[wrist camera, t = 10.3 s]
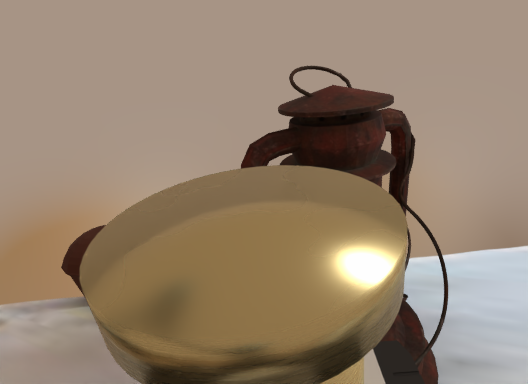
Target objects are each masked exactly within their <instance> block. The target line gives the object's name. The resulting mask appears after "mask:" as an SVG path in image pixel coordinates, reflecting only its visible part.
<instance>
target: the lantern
mask: <svg viewBox="0 0 528 384" xmlns="http://www.w3.org/2000/svg"><path fill="white" fill-rule="evenodd" d="M307 69H316V70H323V71H327V72H330V73H332V74H334V75H337V76H339V77H340V78H341V79H342V80H343V81H345V82H346V84H347V86H348V88H347V87H341V86H336V85H332V86H329V87H327V88H324V89H321V90H319V91H316V92H313V93H311V94H310V93H308V92H306V91H304V90H303V89H300V88H299V87H298V86H297V85H296V84H295V83H294V81H293V76H294V74H295V73H297V72H298V71H302V70H307ZM289 79H290V83H291V85H292V86H293V87H294V88H295V89H296V90H297V91H299V92H300V93H302V94H304V95H305V96H303V97H301V98H297V99H295V100H292V101H289V102H287V103H284V104H282V105H280V106H279V107H278V111H279V113H280V114H282V115H285V116H291V117H293V118H292V119H290V122H289V128H288V129H284V130H280V131H276V132H272V133H268V134H266V135H265V136H263V137H261V138H260V139H258V140H257V141H255V142H253V143H252V144H250V145H249V148H248V150H247V152H246V155H245V157H244V159H243V161H242V164H241V169H243V168H251V167H260V166H267V165H268V163H269V161H271V160H272V159H274V158H277V157H279V156H282V155H285V154H289V153H292V155H290V156H288V157H287V158H285V159H284V160H283V161H282V162H281V163H280V165H294V166H312V167H320V168H327V169H333V170H338V171H342V172H346V173H350V174H353V175H356V176H358V177H361V178H364V179H366V180H368V181H370V182H373V183H374V184H376V185H378V186H379V187H381V186H382V176H383V175H385V174H388V173H389V172H390V183H389V194H390V195H392V196H393V197H394V199H395V200H396V201H397V202H398V203H399V204H400V206H401V208H402V210H403V212H404V214H405V216H406V209H407V210H408V211H409V212H410V213H411V214H412V215H413V216H414V217H415V218H416V219H417V220H418V222H419V223H420V224H421V225H422V226H423V228H424V229H425V231H426V232H427V233H428V235H429V237H430V238H431V240H432V242H433V244H434V246H435V248H436V251H437V253H438V256H439V259H440V263H441V267H442V271H443V278H444V304H443V310H442V315H441V319H440V322H439V325H438V327H437V330H436V332H435V334H434V336H433V338H432V340H431V341H430V343H429V344H428V341H427V340H426V338H425V337H424V331H423V327H422V325H421V323H420V321H419V318H418V316H417V314H416V313H415V312H414V311H413V309H412V308H411V307H410V305H409V304H408V303H407V302H406V300H407V298H408V296H407V295H406V294H403V297H404V298H403V299H402V302H401V306H400V309H399V312H398V314H397V316H396V318H395V320H394V322H393V324H392V326H391V328H390V329H389V330H388V332H387V333H386V334H385V335H384V337H383V338H382V339H381V340H380V342H381V341H393V340H397V341H398V342H399V343H400V344H401V345H402V346H403V347H404V348H405V349H406V350H407V351H408V352H409V353H410V354H411V356H412V358H413V360H414V362H415V364H416V366H417V368H418V370H419V374H421V376H422V378H423V380H424V382H425V384H438V372H437V366H436V361H435V357H434V355H433V352H432V350H431V348H432V346H433V345H434V343H435V341H436V339H437V337H438V335H439V333H440V331H441V328H442V325H443V323H444V319H445V315H446V310H447V303H448V280H447V273H446V268H445V263H444V260H443V257H442V254H441V251H440V249H439V246H438V244H437V242H436V240H435V238H434V237H433V235H432V233H431V232H430V230H429V229H428V227H427V226H426V225H425V224H424V222H423V221H422V220H421V219H420V218H419V216H418V215H417V214H416V213H415V212H414V211H412V210H411V209H410V208H409V206H408V205H407V195H408V184H409V174H410V171H411V168H412V164H413V158H414V146H415V138H414V136H413V135H412V133H411V126H410V125H409V122H408V120H407V118H406V116H405V114H403V112H402V111H399V110H395V109H391V108H387V109H382V108H385V107H387V106H390V105H391V104H393V103H394V97H393V96H392V95H390V94H385V93H378V92H373V91H366V90H360V89H354V88H352V87H351V84H350V82H349V80H348V79H347V78H345V77H344V76H343V75H342V74H341V73H338V72H336V71H333V70H331V69H329V68H325V67H319V66H304V67H300V68H297V69H295V70H294V71H292V73H291V74H290V77H289ZM378 109H382V110H378ZM386 131H389V132H390V133H391V147H392V148H391V154H390V153H388V152H386V151H384V150H381V147H382V144H383V141H384V138H385V136H386ZM381 188H382V187H381ZM407 234H408V242H409V245H408V254H407V258H406V262H405V270H406V268H407V265H408V262H409V257H410V250H411V239H410V233H409V230H408V228H407Z"/></svg>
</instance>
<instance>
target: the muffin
mask: <svg viewBox="0 0 528 384" xmlns="http://www.w3.org/2000/svg"><path fill="white" fill-rule="evenodd" d="M105 226H106V225H103V226H99V227H96V228H93V229H91V230H89V231H87V232H85V233H83V234H82V235H81V236H80V237H78V238H77V239H76V240H75V241H74V242H73V243H72V244H71V245H70V247H69V249H68V251H67V253H66V255H65V257H64V260H63V264H62V267H61V268H62V269H63V271H64V272H65V273H66V274H67V275H70V276H71V277H72V279H73V280H74V282H75V283H76V285H77V286H78V288H79V289H80V290H81V292H82V293H83V290H82V287H81V283H80V265H81V262H82V258H83V255H84V253H85V252H86V250H87V248H88V246H89V244H90V243H91V242H92V240H93V239H94V238H95V236H96V235H97V234H98V233H99V232H100V231H101V230H102V229H103V228H104V227H105ZM83 295H84V293H83ZM84 296H85V295H84Z"/></svg>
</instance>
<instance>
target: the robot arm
mask: <svg viewBox="0 0 528 384" xmlns="http://www.w3.org/2000/svg"><path fill="white" fill-rule="evenodd" d="M364 384H425V382H424V380H423V378H422V376H421V374H419V370H418V368H417V366H416V364H415V362H414V360H413V358H412V356H411V354H410V353H409V352H408V351H407V350H406V349H405V348H404V347H403V346H402V345H401V344H400V343H399V342H398V341H397V340H393V341H381V342H379V343H378V344H377V345H376V346H375V347H374V348H373V349H372V350H371V351H370V352H369V353H367V354H366V355H365V356H364Z"/></svg>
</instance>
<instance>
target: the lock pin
mask: <svg viewBox="0 0 528 384" xmlns="http://www.w3.org/2000/svg"><path fill="white" fill-rule="evenodd" d="M407 226H408V225H407V221H406V216H405V214H404V212H403V210H402V208H401V206H400V204H399V203H398V202H397V201H396V200H395V199H394V197H393V196H392V195H390V194H389V193H388V192H387V191H385V190H384V189H383V188H381V187H379V186H378V185H376V184H374V183H373V182H370V181H368V180H366V179H364V178H361V177H358V176H356V175H353V174H350V173H346V172H342V171H338V170H333V169H327V168H320V167H312V166H294V165H279V166H260V167H251V168H243V169H236V170H230V171H225V172H220V173H216V174H211V175H207V176H203V177H200V178H196V179H193V180H190V181H186V182H184V183H180V184H178V185H175V186H173V187H170V188H167V189H165V190H163V191H160V192H158V193H156V194H153V195H151V196H149V197H148V198H146V199H144V200H142V201H140V202H138V203H136V204H135V205H133V206H131V207H130V208H128V209H127V210H125V211H124V212H122V213H121V214H120V215H118V216H116V217H115V218H114V219H113V220H112V221H110V222H109V223H108V224H107V225H106V226H105V227H104V228H103V229H102V230H101V231H100V232H99V233H98V234H97V235H96V236H95V238H94V239H93V240H92V242H91V243H90V244H89V246H88V248H87V250H86V252H85V253H84V255H83V258H82V262H81V265H80V283H81V287H82V290H83V293H84V295H85V298H86V300H87V302H88V304H89V307H90V309H91V311H92V314H93V316H94V318H95V320H96V323H97V325H98V327H99V330H100V332H101V334H102V336H103V339H104V341H105V343H106V345H107V348H108V350H109V351H110V353H111V354H112V356H113V358H114V359H115V361H116V362H117V363H118V364H119V365H120V366H121V367H122V368H123V369H124V370H125V371H126V373H127V374H128V375H130V376H131V377H133V378H134V379H136V380H137V381H139V382H140V383H142V384H364V356H365V355H366V354H367V353H369V352H370V351H371V350H372V349H373V348H374V347H375V346H376V345H377V344H378V343H379V342H380V340H381V339H382V338H383V337H384V335H385V334H386V333H387V332H388V330H389V329H390V328H391V326H392V324H393V322H394V320H395V318H396V316H397V314H398V312H399V309H400V306H401V302H402V299H403V292H404V276H405V260H406V244H407V228H408V227H407Z"/></svg>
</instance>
